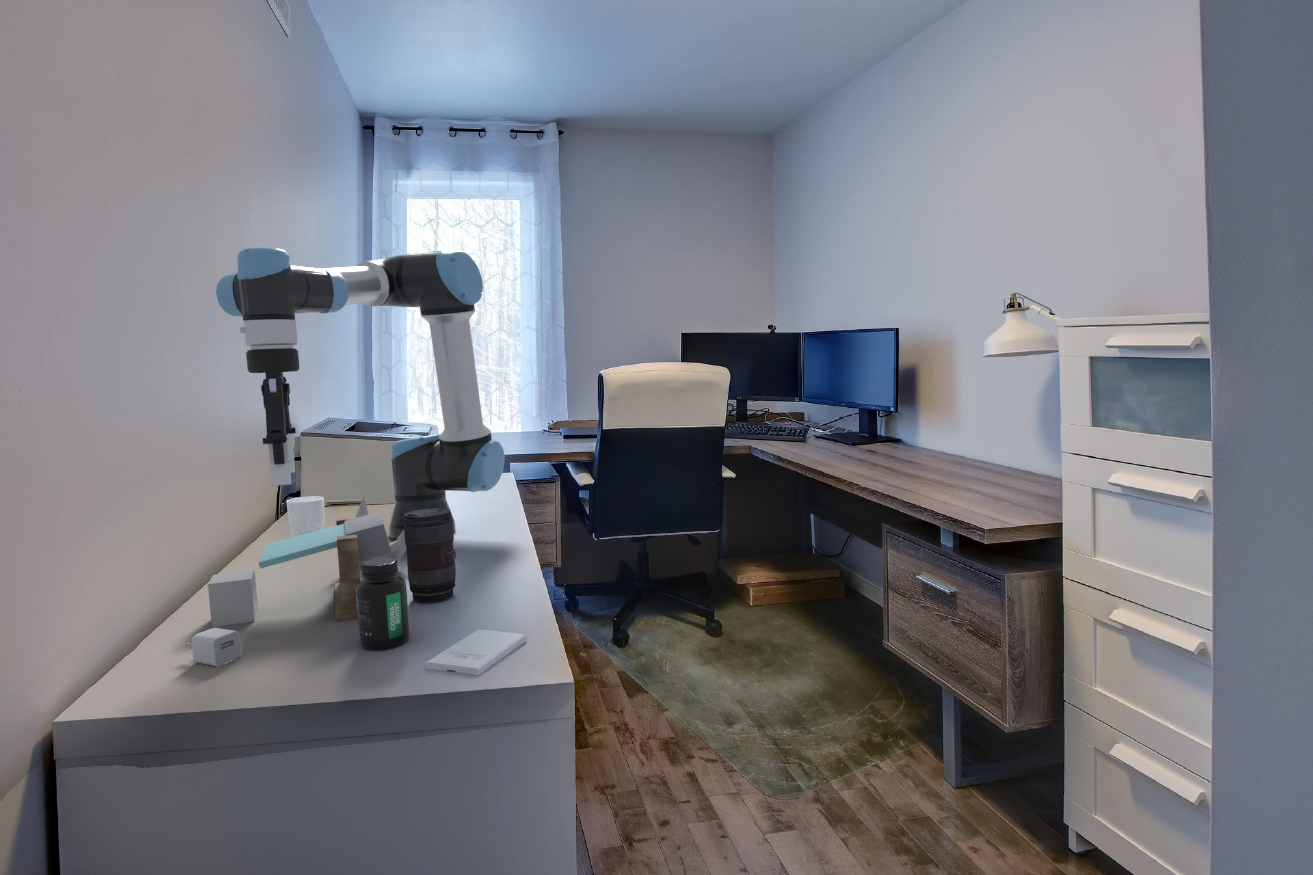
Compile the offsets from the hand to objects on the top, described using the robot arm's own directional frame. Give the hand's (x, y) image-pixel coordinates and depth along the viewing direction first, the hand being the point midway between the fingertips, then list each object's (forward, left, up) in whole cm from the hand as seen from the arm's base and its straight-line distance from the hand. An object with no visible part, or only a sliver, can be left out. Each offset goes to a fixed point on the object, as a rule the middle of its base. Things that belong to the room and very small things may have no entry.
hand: (284, 478), depth 126 cm
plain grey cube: (+9, 0, -15) cm, 17 cm away
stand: (-9, 0, -22) cm, 24 cm away
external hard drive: (-24, +34, -23) cm, 48 cm away
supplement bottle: (-13, +23, -22) cm, 35 cm away
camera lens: (-22, +4, -22) cm, 31 cm away
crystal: (-14, -19, -22) cm, 32 cm away
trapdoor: (-6, 0, -15) cm, 16 cm away
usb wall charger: (+10, +19, -22) cm, 31 cm away
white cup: (-1, -55, -22) cm, 59 cm away
